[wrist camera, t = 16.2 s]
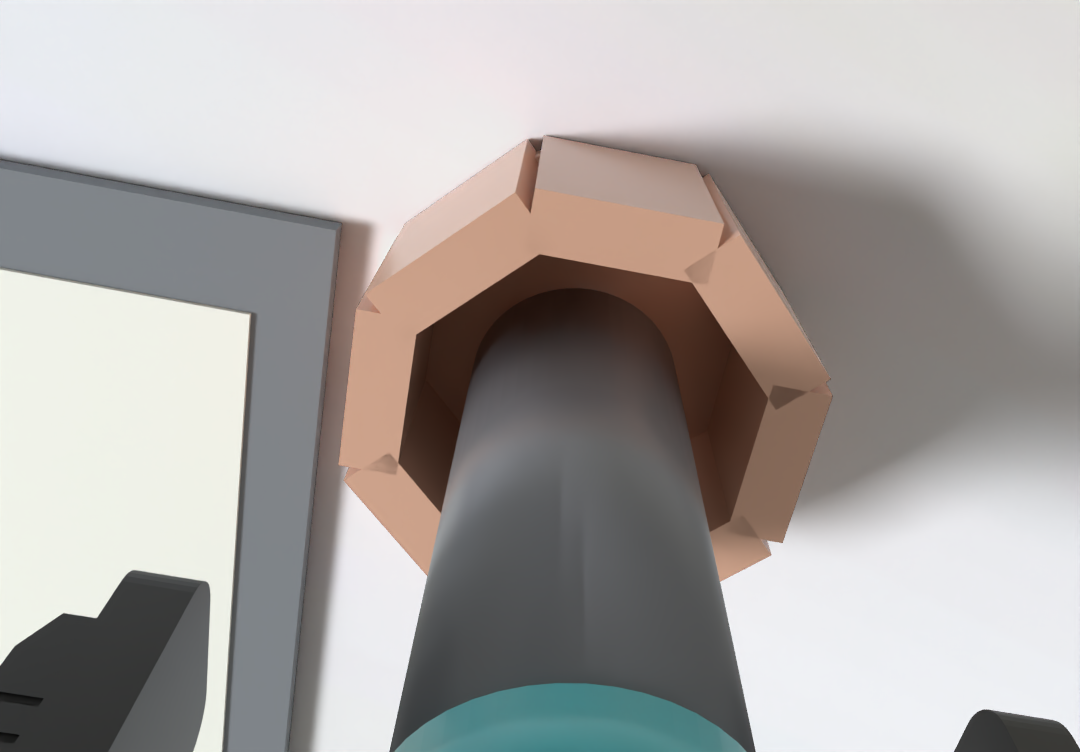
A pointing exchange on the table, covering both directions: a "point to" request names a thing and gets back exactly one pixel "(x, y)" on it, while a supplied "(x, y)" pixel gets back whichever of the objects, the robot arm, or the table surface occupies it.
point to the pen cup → (598, 264)
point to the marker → (573, 553)
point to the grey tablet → (163, 419)
